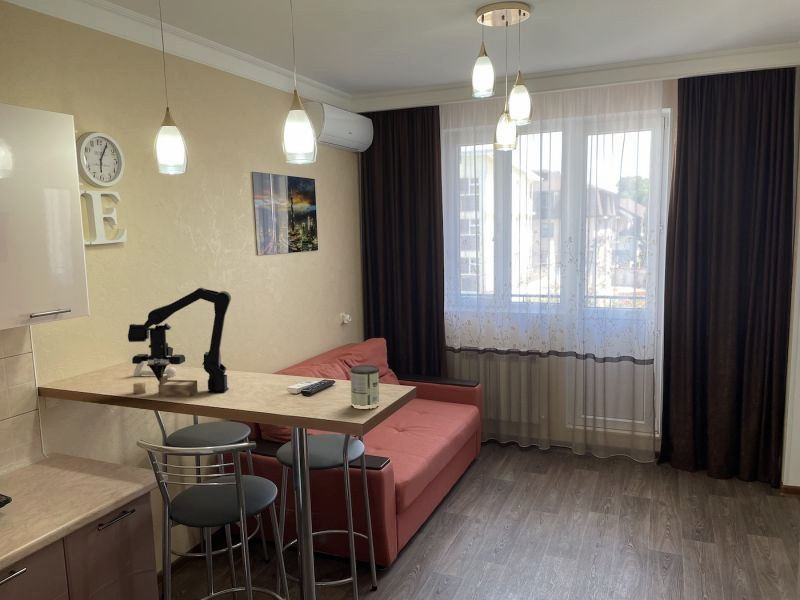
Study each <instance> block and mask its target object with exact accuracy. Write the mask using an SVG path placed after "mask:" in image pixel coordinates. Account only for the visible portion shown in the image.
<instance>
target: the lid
mask: <svg viewBox="0 0 800 600" xmlns="http://www.w3.org/2000/svg"><path fill="white" fill-rule="evenodd" d="M168 380H169V377H168V376H167V375H163V377H162V378H160V379H159V381H158V385H159V384H162V385H190V386H192V385H193V384H195V382H168Z"/></svg>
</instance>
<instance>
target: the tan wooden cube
mask: <svg viewBox="0 0 800 600" xmlns="http://www.w3.org/2000/svg"><path fill="white" fill-rule="evenodd" d="M146 387H147V386H146V382H136V383H135V382H134V383H133V384H132V388H133V389H132V391H133V393H132V394H133V395H143V394H146V392H147V391H146V390H147V389H146Z"/></svg>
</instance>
